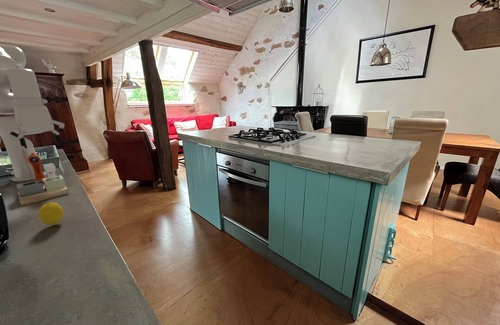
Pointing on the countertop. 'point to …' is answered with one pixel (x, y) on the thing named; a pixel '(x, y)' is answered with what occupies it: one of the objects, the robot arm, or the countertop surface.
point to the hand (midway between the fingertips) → (42, 145)
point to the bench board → (43, 195)
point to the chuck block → (30, 188)
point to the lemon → (51, 213)
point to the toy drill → (36, 166)
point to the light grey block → (50, 171)
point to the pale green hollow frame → (54, 183)
